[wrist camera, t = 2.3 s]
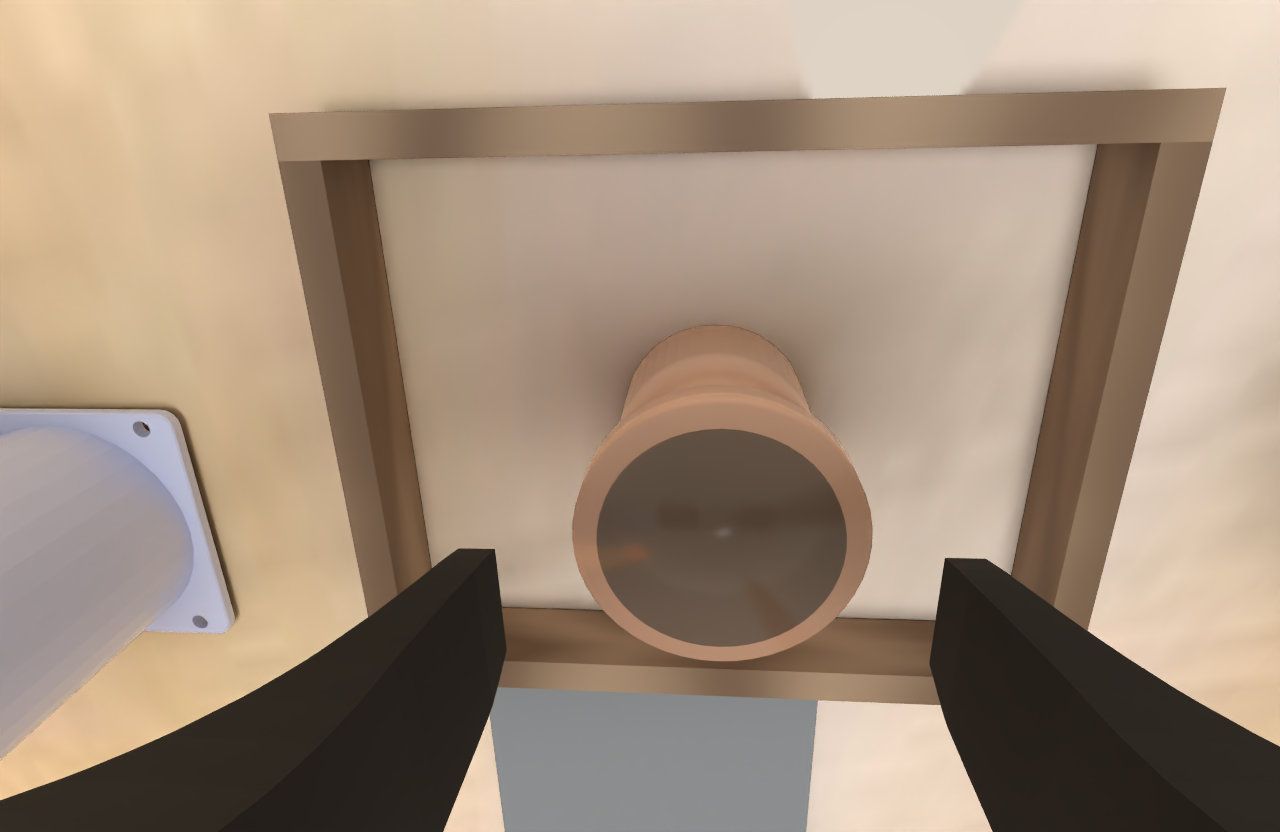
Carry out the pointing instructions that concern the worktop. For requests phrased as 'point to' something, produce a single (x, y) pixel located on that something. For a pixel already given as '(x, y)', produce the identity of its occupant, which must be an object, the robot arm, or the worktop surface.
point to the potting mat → (651, 761)
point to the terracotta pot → (720, 504)
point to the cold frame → (1115, 120)
